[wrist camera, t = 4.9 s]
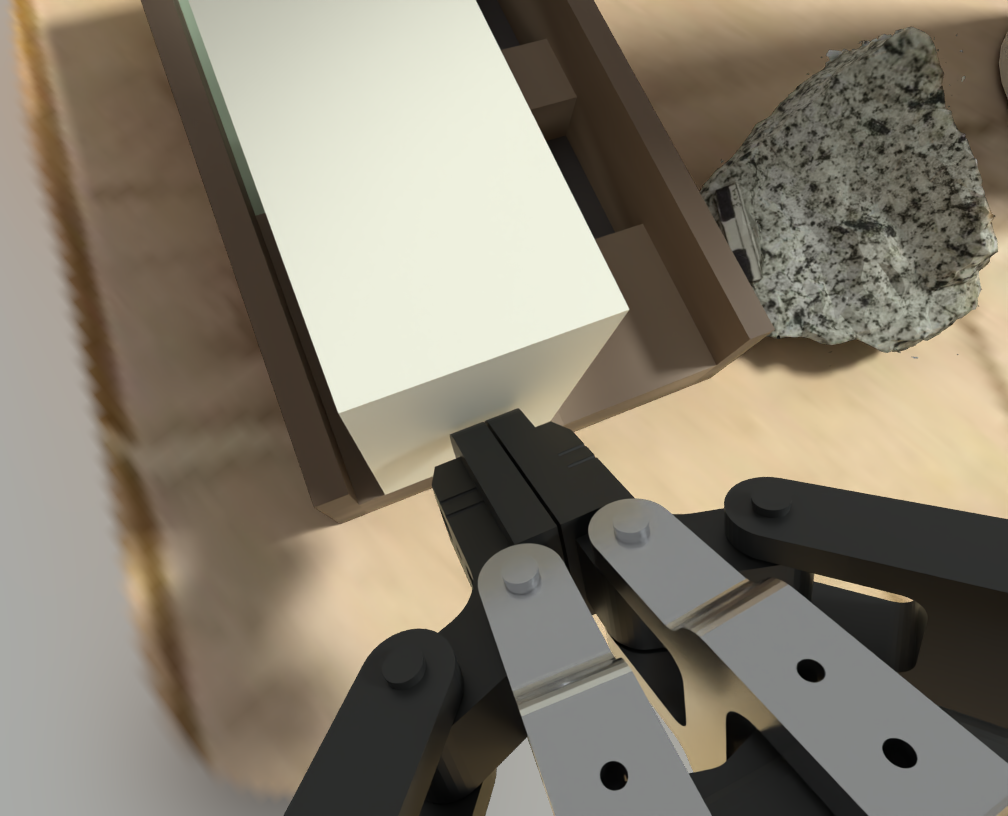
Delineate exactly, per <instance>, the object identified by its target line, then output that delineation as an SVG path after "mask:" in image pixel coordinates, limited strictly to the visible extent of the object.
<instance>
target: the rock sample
mask: <svg viewBox="0 0 1008 816" xmlns="http://www.w3.org/2000/svg"><path fill="white" fill-rule="evenodd" d="M956 36H957V35H956ZM934 40H935V39H934ZM861 42H862V46H861V47H860V48H859V49H856V50H855V49H852V51H848V50H846V49H843V50H842V51H836V50H829V51H828V53H827V54H826V56H828V57H829V59H830V61H829V62H827V63H826V67H825V68H824V69H823V70H822V71H820V72H818V73H816V74H815V75H813V76H812V77H810V78H809V79H808V80H806V81H805V82H803V83H802V84H800V85H799V86H797V88H796V90H795V91H793V92H792V93H791V94H789V95H788V97H787V98H786V99H785V100H784V101H783V102H781V103H780V104H779V105H778V107H777V108H776V109H775V111H774V112H773V113H772V115H771V116H770V117H768V118H767V119H765V120H763V121H761V122H759V123H757V124H756V125H755V127H754V128H753V130H752V132H751V134H750V135H749V136H748V138H747V139H746V140H745V142H744V143H743V144H742V146H741V147H740V148H739V150H738V151H737V152H736V153H735V154H734V156H733V157H732V158H731V159H730V160H729V161H727V162H726V163H725V164H724V165H723V166H722V167H721V168H719V169H717V170H716V171H715V172H714V174H713V175H712V176H711V177H710V178H709V180H708V181H707V182H706V183H705V184H704V186H703V188H702V189H701V191H700V194H701V196H702V198H703V199H704V201H705V203H706V205H707V207H708V209H709V210H710V212H711V214H712V216H713V218H714V219H715V221H716V223H717V225H718V227H719V228H720V230H721V232H722V234H723V236H724V238H725V239H726V241H727V243H728V245H729V247H730V248H731V250H732V252H733V254H734V256H735V257H736V259H737V261H738V263H739V265H740V267H741V268H742V270H743V272H744V274H745V276H746V277H747V279H748V281H749V283H750V285H751V286H752V288H753V290H754V292H755V294H756V296H757V297H758V299H759V301H760V303H761V305H762V306H763V308H764V310H765V312H766V314H767V315H768V317H769V319H770V321H771V323H772V325H773V326H774V328H775V330H774V331H773V332H771V333H770V334H769V335H767V336H766V337H773V338H777V339H780V338H784V337H806V338H810V339H812V340H814V341H817V342H819V343H821V344H828V345H835V344H841V343H844V342H847V341H850V340H854V339H857V340H859V341H861V342H863V343H865V344H867V345H870V346H872V347H874V348H876V349H878V350H880V351H882V352H885V353H888V352H891V351H892V352H899V353H900V351H903V350H906V349H908V348H909V347H913V346H915V345H916V344H917V343H919V342H921V341H922V340H927V341H928V340H929V339H931V338H933V337H935V336H937V335H939V334H940V333H941V332H942V331H943V330H945V329H946V328H948V327H949V326H951V325H952V324H953V323H954V322H955V321H956V320H957V319H959V318H962V317H963V316H965V315H966V314H968V313H969V312H970V311H971V310H974V309H976V307H977V305H978V296H979V293H980V291H981V290H982V289H981V286H980V279H979V271H980V270H981V269H983V267H985V266H986V265H987V264H988V263H989V262H990V257H991V256H992V255H994V254H995V253H996V252H998V243H997V238H996V236H995V233H994V231H993V227H992V222H991V221H992V220H993V219H994V217H995V215H993V214H992V213H991V211H990V208H989V205H988V203H987V200H986V197H985V192H984V190H983V188H982V186H981V185H982V178H981V175H980V173H979V170H978V166H977V159H975V158H974V156H973V154H972V151H971V149H970V146H969V144H968V140H967V139H966V137H965V135H966V134H964V133H961V132H959V130H958V129H957V127H956V125H955V122H954V120H953V117H952V113H951V111H950V110H947V109H946V108H945V97H944V90H943V87H942V80H943V75H944V72H943V70H942V68H941V66H940V63H939V59H938V56H937V52H936V48H935V45H934V43H933V41H932V39H931V37H930V36H928V35H927V34H926V33H925V32H923V31H921V30H919V29H916V28H913V27H908V28H905V29H901V30H897V31H895V34H894V35H893V36H892V35H891V34H890V35H886V34H882V35H881V36H879V37H878V39H876V38H875V39H873V40H872V41H871V42H869V41H860V42H859V43H861ZM867 42H868V44H867ZM859 43H858V44H859ZM937 51H939V50H937ZM960 52H963V50H961V51H960ZM821 58H823V57H821ZM806 75H809V73H807V74H806ZM964 79H965V76H963V77H962V82H963V80H964ZM949 86H951V85H949ZM948 107H950V106H948ZM721 160H722V159H721ZM722 162H723V161H721V163H722ZM978 307H979V306H978ZM957 355H958V354H957ZM913 358H918V357H913Z"/></svg>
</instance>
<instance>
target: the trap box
mask: <svg viewBox="0 0 1008 816" xmlns="http://www.w3.org/2000/svg"><path fill="white" fill-rule="evenodd" d="M141 2H142V5H143V8H144V11H145V14H146V17H147V20H148V22H149V25H150V28H151V31H152V34H153V37H154V40H155V43H156V46H157V49H158V52H159V55H160V58H161V60H162V63H163V66H164V69H165V72H166V75H167V78H168V81H169V84H170V87H171V90H172V93H173V96H174V99H175V101H176V104H177V107H178V110H179V113H180V116H181V119H182V122H183V125H184V128H185V131H186V134H187V137H188V140H189V142H190V145H191V148H192V151H193V154H194V157H195V160H196V163H197V166H198V169H199V172H200V175H201V178H202V181H203V183H204V186H205V189H206V192H207V195H208V198H209V201H210V204H211V207H212V210H213V213H214V216H215V219H216V222H217V224H218V227H219V230H220V233H221V236H222V239H223V242H224V245H225V248H226V251H227V254H228V257H229V260H230V262H231V265H232V268H233V271H234V274H235V277H236V280H237V283H238V286H239V289H240V292H241V295H242V298H243V301H244V303H245V306H246V309H247V312H248V315H249V318H250V321H251V324H252V327H253V330H254V333H255V336H256V339H257V342H258V344H259V347H260V350H261V353H262V356H263V359H264V362H265V365H266V368H267V371H268V374H269V377H270V380H271V383H272V385H273V388H274V391H275V394H276V397H277V400H278V403H279V406H280V409H281V412H282V415H283V418H284V421H285V424H286V426H287V429H288V432H289V435H290V438H291V441H292V444H293V447H294V450H295V453H296V456H297V459H298V462H299V464H300V467H301V470H302V473H303V476H304V479H305V482H306V485H307V488H308V491H309V494H310V497H311V500H312V503H313V505H314V508H316V509H317V510H319V511H321V512H322V513H324V514H325V515H327V516H329V517H330V518H332V519H333V520H335V521H337V522H338V523H340V524H342V523H345V522H347V521H350V520H352V519H355V518H357V517H360V516H362V515H365V514H367V513H370V512H372V511H375V510H377V509H380V508H383V507H385V506H388V505H390V504H393V503H395V502H398V501H400V500H403V499H405V498H408V497H410V496H413V495H415V494H418V493H420V492H423V491H426V490H428V489H431V488H432V480H433V476H432V477H430V478H427V479H424V480H422V481H419V482H417V483H414V484H412V485H409V486H407V487H404V488H401V489H399V490H396V491H394V492H391V493H389V494H386V495H385V494H384V492H383V490H382V488H381V487H380V485H379V483H378V481H377V480H376V478H375V476H374V475H373V473H372V471H371V469H370V468H369V466H368V464H367V462H366V461H365V459H364V457H363V455H362V454H361V452H360V450H359V448H358V447H357V445H356V443H355V441H354V440H353V438H352V436H351V435H350V433H349V431H348V429H347V428H346V426H345V424H344V422H343V421H342V419H341V417H340V415H339V414H338V411H337V408H336V406H335V403H334V400H333V397H332V395H331V392H330V389H329V386H328V384H327V381H326V378H325V375H324V373H323V370H322V367H321V364H320V362H319V359H318V356H317V353H316V351H315V348H314V345H313V342H312V340H311V337H310V334H309V331H308V329H307V326H306V323H305V320H304V317H303V315H302V312H301V309H300V306H299V304H298V301H297V298H296V295H295V293H294V290H293V287H292V284H291V282H290V279H289V276H288V273H287V271H286V268H285V265H284V262H283V260H282V257H281V254H280V251H279V249H278V246H277V243H276V240H275V238H274V235H273V232H272V229H271V227H270V224H269V221H268V218H267V216H266V213H265V210H264V207H263V205H262V202H261V199H260V196H259V194H258V191H257V188H256V185H255V183H254V180H253V177H252V174H251V172H250V169H249V166H248V163H247V161H246V158H245V155H244V152H243V150H242V147H241V144H240V141H239V139H238V136H237V133H236V130H235V128H234V125H233V122H232V119H231V117H230V114H229V111H228V108H227V106H226V103H225V100H224V97H223V95H222V92H221V89H220V86H219V84H218V81H217V78H216V75H215V73H214V70H213V67H212V64H211V62H210V59H209V56H208V53H207V51H206V48H205V45H204V42H203V40H202V37H201V34H200V31H199V29H198V26H197V23H196V20H195V18H194V15H193V12H192V9H191V7H190V4H189V1H188V0H141ZM476 2H477V4H478V6H479V8H480V10H481V12H482V14H483V16H484V18H485V20H486V22H487V24H488V26H489V28H490V30H491V32H492V34H493V36H494V38H495V40H496V42H497V44H498V46H499V48H500V50H501V52H502V54H503V56H504V58H505V60H506V62H507V64H508V66H509V68H510V70H511V72H512V74H513V76H514V78H515V80H516V82H517V84H518V86H519V88H520V90H521V92H522V94H523V96H524V98H525V100H526V102H527V104H528V106H529V108H530V110H531V112H532V114H533V116H534V118H535V120H536V122H537V124H538V126H539V128H540V130H541V133H542V135H543V137H544V139H545V141H546V143H547V145H548V147H549V149H550V151H551V153H552V155H553V157H554V159H555V161H556V163H557V165H558V167H559V169H560V171H561V173H562V175H563V177H564V179H565V181H566V183H567V185H568V187H569V189H570V191H571V193H572V195H573V197H574V199H575V201H576V203H577V205H578V207H579V209H580V211H581V213H582V215H583V217H584V219H585V221H586V223H587V225H588V227H589V229H590V231H591V233H592V235H593V237H594V239H595V241H596V243H597V245H598V247H599V249H600V251H601V253H602V255H603V257H604V259H605V261H606V263H607V265H608V267H609V269H610V271H611V273H612V275H613V277H614V279H615V281H616V283H617V285H618V287H619V289H620V291H621V293H622V295H623V298H624V300H625V302H626V304H627V306H628V308H629V311H628V312H627V314H626V315H625V316H624V318H623V319H622V321H621V322H620V324H619V325H618V326H617V328H616V329H615V331H614V332H613V333H612V335H611V336H610V338H609V339H608V340H607V342H606V343H605V345H604V346H603V348H602V349H601V350H600V352H599V353H598V355H597V356H596V357H595V359H594V360H593V362H592V363H591V364H590V366H589V367H588V369H587V370H586V372H585V373H584V374H583V376H582V377H581V379H580V380H579V381H578V383H577V384H576V386H575V387H574V388H573V390H572V391H571V393H570V394H569V396H568V397H567V398H566V400H565V401H564V403H563V404H562V405H561V407H560V408H559V410H558V411H557V412H556V414H555V415H554V417H553V418H552V420H551V422H554V423H556V424H559V425H561V426H563V427H566V428H568V429H571V430H572V431H573V432H575V431H577V430H580V429H582V428H585V427H588V426H590V425H593V424H595V423H598V422H600V421H603V420H605V419H608V418H610V417H613V416H615V415H618V414H620V413H623V412H625V411H628V410H631V409H633V408H636V407H638V406H641V405H643V404H646V403H648V402H651V401H653V400H656V399H658V398H661V397H663V396H666V395H669V394H671V393H674V392H676V391H679V390H681V389H684V388H686V387H689V386H691V385H694V384H696V383H699V382H701V381H704V380H706V379H709V378H711V377H712V376H714V375H715V374H716V373H718V372H719V371H720V370H722V369H723V368H724V367H726V366H727V365H728V364H730V363H731V362H732V361H734V360H735V359H737V358H738V357H739V356H741V355H742V354H743V353H745V352H746V351H747V350H749V349H750V348H751V347H753V346H754V345H755V344H757V343H758V342H759V341H761V340H762V339H763V338H765V337H766V336H767V335H769V334H770V333H771V332H773V331H774V330H775V328H774V326H773V325H772V323H771V321H770V319H769V317H768V315H767V314H766V312H765V310H764V308H763V306H762V305H761V303H760V301H759V299H758V297H757V296H756V294H755V292H754V290H753V288H752V286H751V285H750V283H749V281H748V279H747V277H746V276H745V274H744V272H743V270H742V268H741V267H740V265H739V263H738V261H737V259H736V257H735V256H734V254H733V252H732V250H731V248H730V247H729V245H728V243H727V241H726V239H725V238H724V236H723V234H722V232H721V230H720V228H719V227H718V225H717V223H716V221H715V219H714V218H713V216H712V214H711V212H710V210H709V209H708V207H707V205H706V203H705V201H704V199H703V198H702V196H701V194H700V192H699V190H698V189H697V187H696V185H695V183H694V181H693V180H692V178H691V176H690V174H689V172H688V170H687V169H686V167H685V165H684V163H683V161H682V160H681V158H680V156H679V154H678V152H677V151H676V149H675V147H674V145H673V143H672V141H671V140H670V138H669V136H668V134H667V132H666V131H665V129H664V127H663V125H662V123H661V122H660V120H659V118H658V116H657V114H656V112H655V111H654V109H653V107H652V105H651V103H650V102H649V100H648V98H647V96H646V94H645V93H644V91H643V89H642V87H641V85H640V83H639V82H638V80H637V78H636V76H635V74H634V73H633V71H632V69H631V67H630V65H629V64H628V62H627V60H626V58H625V56H624V54H623V53H622V51H621V49H620V47H619V45H618V44H617V42H616V40H615V38H614V36H613V35H612V33H611V31H610V29H609V27H608V25H607V24H606V22H605V20H604V18H603V16H602V15H601V13H600V11H599V9H598V7H597V6H596V4H595V2H594V0H476Z"/></svg>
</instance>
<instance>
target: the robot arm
mask: <svg viewBox="0 0 1008 816" xmlns="http://www.w3.org/2000/svg"><path fill="white" fill-rule="evenodd" d="M999 68H1000V75H1001V82H1002V85H1003V88H1004V90H1005V93H1006V96H1007V99H1008V32H1007V34H1006V36H1005V38H1004V40H1003V43H1002V45H1001V50H1000V58H999ZM450 440H451V444H452V447H453V450H454V454H455V457H456V459H453V460H451V461H448V462H446V463H443V464H441V465H438V466H435V469H434V474H433V480H432V488H433V491H434V494H435V497H436V500H437V503H438V505H439V508H440V511H441V514H442V517H443V520H444V523H445V526H446V529H447V532H448V534H449V537H450V540H451V542H452V545H453V547H454V549H455V551H456V554H457V556H458V558H459V560H460V563H461V565H462V567H463V569H464V572H465V574H466V576H467V578H468V581H469V583H470V585H471V587H472V593H471V596H470V598H469V601H468V603H467V604H466V606H465V608H464V609H463V610H462V612H461V613H460V614H459V615H458V616H457V617H456V618H455V619H454V620H453V621H452V622H451V623H449V624H448V625H447V626H446V627H445V628H443V629H442V630H441V631H440V632H438V633H437V632H435V631H432V630H427V629H410V630H406V631H402V632H400V633H397V634H395V635H393V636H391V637H389V638H388V639H386V640H385V641H383V642H382V643H381V644H379V645H378V646H377V647H376V648H375V649H374V650H373V651H372V652H371V654H370V655H369V656H368V657H367V659H366V661H365V662H364V664H363V666H362V668H361V670H360V671H359V673H358V675H357V677H356V679H355V681H354V683H353V685H352V687H351V689H350V690H349V692H348V694H347V696H346V698H345V700H344V702H343V704H342V706H341V708H340V709H339V711H338V713H337V715H336V717H335V719H334V721H333V723H332V725H331V727H330V728H329V730H328V732H327V734H326V736H325V738H324V740H323V742H322V744H321V746H320V747H319V749H318V751H317V753H316V755H315V757H314V759H313V761H312V763H311V765H310V766H309V768H308V770H307V772H306V774H305V776H304V778H303V780H302V782H301V784H300V785H299V787H298V789H297V791H296V793H295V795H294V797H293V799H292V801H291V803H290V804H289V806H288V808H287V810H286V812H285V814H284V816H485V815H486V811H487V808H488V804H489V801H490V797H491V794H492V790H493V787H494V784H495V779H496V770H497V767H498V766H499V765H500V764H501V763H502V761H504V760H505V759H506V758H507V757H508V756H509V754H511V753H512V752H513V750H515V749H516V748H517V747H518V746H519V745H520V744H521V742H522V741H523V740H524V739H525V738H526V737H527V738H528V741H529V744H530V746H531V749H532V752H533V755H534V758H535V761H536V764H537V767H538V770H539V773H540V776H541V779H542V782H543V785H544V788H545V791H546V793H547V796H548V800H549V802H550V805H551V809H552V811H553V814H554V816H1008V519H1003V518H998V517H992V516H987V515H981V514H976V513H970V512H965V511H959V510H953V509H948V508H942V507H937V506H931V505H926V504H920V503H915V502H909V501H904V500H898V499H892V498H887V497H881V496H876V495H870V494H865V493H859V492H854V491H848V490H843V489H837V488H831V487H826V486H820V485H815V484H809V483H804V482H798V481H793V480H787V479H782V478H774V477H758V478H752V479H748V480H745V481H742V482H740V483H738V484H736V485H735V486H734V487H732V488H731V489H730V490H729V492H728V493H727V495H726V497H725V501H724V508H723V509H717V510H711V511H704V512H698V513H692V514H671V513H670V512H669V511H668V510H667V509H665V508H664V507H662V506H661V505H659V504H657V503H655V502H652V501H649V500H644V499H635V498H634V497H633V496H632V495H631V494H630V493H629V492H628V490H627V489H626V488H625V487H624V486H623V485H622V484H621V483H620V482H619V481H618V480H617V479H616V478H615V476H614V475H613V474H612V473H611V472H610V471H609V470H608V469H607V468H606V467H605V466H604V465H603V464H602V462H601V461H600V460H599V459H598V458H595V456H594V454H593V453H592V452H591V451H590V450H589V449H588V447H587V446H584V443H583V442H582V441H581V440H580V439H579V438H578V437H577V436H576V435H575V433H574V432H573V431H572V430H571V429H568V428H566V427H563V426H561V425H559V424H556V423H554V422H551V421H550V422H547V423H545V424H542V425H540V426H537V427H535V426H534V425H533V424H532V423H531V422H530V420H529V419H528V418H527V417H526V416H525V414H524V413H523V412H522V411H521V410H520V409H519V408H517V409H514V410H512V411H509V412H506V413H504V414H501V415H498V416H496V417H493V418H491V419H488V420H486V421H485V423H484V422H481V423H478V424H475V425H473V426H470V427H468V428H465V429H462V430H460V431H457V432H454V433H452V434H450ZM814 574H818V575H822V576H826V577H830V578H834V579H838V580H842V581H846V582H850V583H854V584H858V585H862V586H866V587H870V588H874V589H878V590H882V591H886V592H890V593H894V594H898V595H902V596H905V597H908V598H910V599H912V600H914V601H912V602H907V603H898V602H892V601H888V600H884V599H880V598H876V597H872V596H869V595H865V594H861V593H857V592H853V591H849V590H845V589H841V588H837V587H833V586H829V585H826V584H822V583H818V582H814ZM594 614H597V616H598V617H599V619H600V620H601V622H602V623H603V625H604V626H605V629H606V635H607V641H608V645H609V647H608V645H607V643H606V641H605V639H604V637H603V635H602V633H601V632H600V630H599V628H598V626H597V624H596V622H595V620H594V618H593V617H592V615H594ZM609 648H610V649H609ZM611 651H612V652H611ZM612 653H613V654H612ZM614 656H615V657H616V658H615V657H614ZM650 703H651V704H650ZM651 705H652V706H653V707H654V709H655V710H656V711H657V713H658V714H659V715H660V717H661V718H662V719H663V720H664V722H665V723H666V725H667V726H668V727H669V729H670V730H671V731H672V732H673V734H674V735H675V737H676V738H677V739H678V741H679V743H680V744H681V746H682V748H683V749H684V751H685V753H686V756H687V758H688V761H689V763H690V766H691V768H692V770H693V772H694V773H688V771H687V770H686V768H685V766H684V764H683V763H682V761H681V759H680V757H679V755H678V753H677V751H676V750H675V748H674V746H673V744H672V742H671V741H670V739H669V737H668V735H667V733H666V731H665V730H664V728H663V726H662V724H661V722H660V720H659V719H658V717H657V715H656V713H655V711H654V710H653V708H652V706H651Z"/></svg>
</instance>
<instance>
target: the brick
mask: <svg viewBox="0 0 1008 816" xmlns="http://www.w3.org/2000/svg"><path fill="white" fill-rule="evenodd" d="M188 1H189V4H190V7H191V9H192V12H193V15H194V18H195V20H196V23H197V26H198V29H199V31H200V34H201V37H202V40H203V42H204V45H205V48H206V51H207V53H208V56H209V59H210V62H211V64H212V67H213V70H214V73H215V75H216V78H217V81H218V84H219V86H220V89H221V92H222V95H223V97H224V100H225V103H226V106H227V108H228V111H229V114H230V117H231V119H232V122H233V125H234V128H235V130H236V133H237V136H238V139H239V141H240V144H241V147H242V150H243V152H244V155H245V158H246V161H247V163H248V166H249V169H250V172H251V174H252V177H253V180H254V183H255V185H256V188H257V191H258V194H259V196H260V199H261V202H262V205H263V207H264V210H265V213H266V216H267V218H268V221H269V224H270V227H271V229H272V232H273V235H274V238H275V240H276V243H277V246H278V249H279V251H280V254H281V257H282V260H283V262H284V265H285V268H286V271H287V273H288V276H289V279H290V282H291V284H292V287H293V290H294V293H295V295H296V298H297V301H298V304H299V306H300V309H301V312H302V315H303V317H304V320H305V323H306V326H307V329H308V331H309V334H310V337H311V340H312V342H313V345H314V348H315V351H316V353H317V356H318V359H319V362H320V364H321V367H322V370H323V373H324V375H325V378H326V381H327V384H328V386H329V389H330V392H331V395H332V397H333V400H334V403H335V406H336V408H337V411H338V414H339V415H340V417H341V419H342V421H343V422H344V424H345V426H346V428H347V429H348V431H349V433H350V435H351V436H352V438H353V440H354V441H355V443H356V445H357V447H358V448H359V450H360V452H361V454H362V455H363V457H364V459H365V461H366V462H367V464H368V466H369V468H370V469H371V471H372V473H373V475H374V476H375V478H376V480H377V481H378V483H379V485H380V487H381V488H382V490H383V492H384V494H385V495H386V494H389V493H391V492H394V491H396V490H399V489H401V488H404V487H407V486H409V485H412V484H414V483H417V482H419V481H422V480H424V479H427V478H430V477H432V476H433V474H434V469H435V466H438V465H441V464H443V463H446V462H448V461H451V460H453V459H456V457H455V454H454V450H453V447H452V444H451V440H450V434H452V433H454V432H457V431H460V430H462V429H465V428H468V427H470V426H473V425H475V424H478V423H481V422H484V423H485V421H486V420H488V419H491V418H493V417H496V416H498V415H501V414H504V413H506V412H509V411H512V410H514V409H517V408H519V409H520V410H521V411H522V412H523V413H524V414H525V416H526V417H527V418H528V419H529V420H530V422H531V423H532V424H533V425H534V426H535V427H537V426H540V425H542V424H545V423H547V422H550V421H551V420H552V418H553V417H554V415H555V414H556V412H557V411H558V410H559V408H560V407H561V405H562V404H563V403H564V401H565V400H566V398H567V397H568V396H569V394H570V393H571V391H572V390H573V388H574V387H575V386H576V384H577V383H578V381H579V380H580V379H581V377H582V376H583V374H584V373H585V372H586V370H587V369H588V367H589V366H590V364H591V363H592V362H593V360H594V359H595V357H596V356H597V355H598V353H599V352H600V350H601V349H602V348H603V346H604V345H605V343H606V342H607V340H608V339H609V338H610V336H611V335H612V333H613V332H614V331H615V329H616V328H617V326H618V325H619V324H620V322H621V321H622V319H623V318H624V316H625V315H626V314H627V312H628V311H629V308H628V306H627V304H626V302H625V300H624V298H623V295H622V293H621V291H620V289H619V287H618V285H617V283H616V281H615V279H614V277H613V275H612V273H611V271H610V269H609V267H608V265H607V263H606V261H605V259H604V257H603V255H602V253H601V251H600V249H599V247H598V245H597V243H596V241H595V239H594V237H593V235H592V233H591V231H590V229H589V227H588V225H587V223H586V221H585V219H584V217H583V215H582V213H581V211H580V209H579V207H578V205H577V203H576V201H575V199H574V197H573V195H572V193H571V191H570V189H569V187H568V185H567V183H566V181H565V179H564V177H563V175H562V173H561V171H560V169H559V167H558V165H557V163H556V161H555V159H554V157H553V155H552V153H551V151H550V149H549V147H548V145H547V143H546V141H545V139H544V137H543V135H542V133H541V130H540V128H539V126H538V124H537V122H536V120H535V118H534V116H533V114H532V112H531V110H530V108H529V106H528V104H527V102H526V100H525V98H524V96H523V94H522V92H521V90H520V88H519V86H518V84H517V82H516V80H515V78H514V76H513V74H512V72H511V70H510V68H509V66H508V64H507V62H506V60H505V58H504V56H503V54H502V52H501V50H500V48H499V46H498V44H497V42H496V40H495V38H494V36H493V34H492V32H491V30H490V28H489V26H488V24H487V22H486V20H485V18H484V16H483V14H482V12H481V10H480V8H479V6H478V4H477V2H476V0H188Z"/></svg>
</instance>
